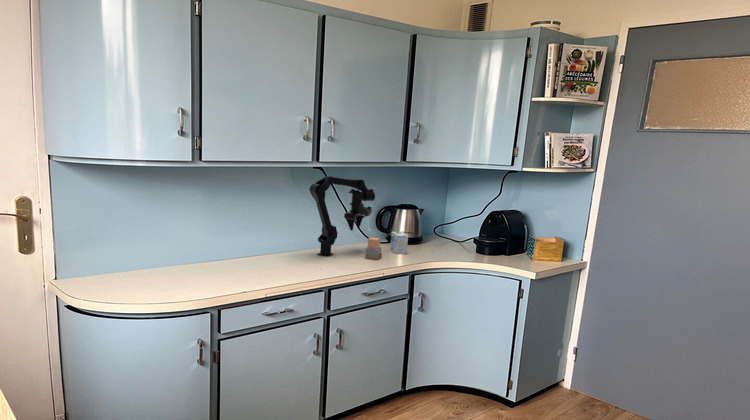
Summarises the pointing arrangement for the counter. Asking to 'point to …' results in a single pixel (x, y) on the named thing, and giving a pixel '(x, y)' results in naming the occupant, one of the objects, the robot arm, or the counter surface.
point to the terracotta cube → (374, 243)
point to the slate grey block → (373, 251)
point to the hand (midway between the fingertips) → (355, 229)
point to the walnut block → (373, 256)
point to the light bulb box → (399, 242)
